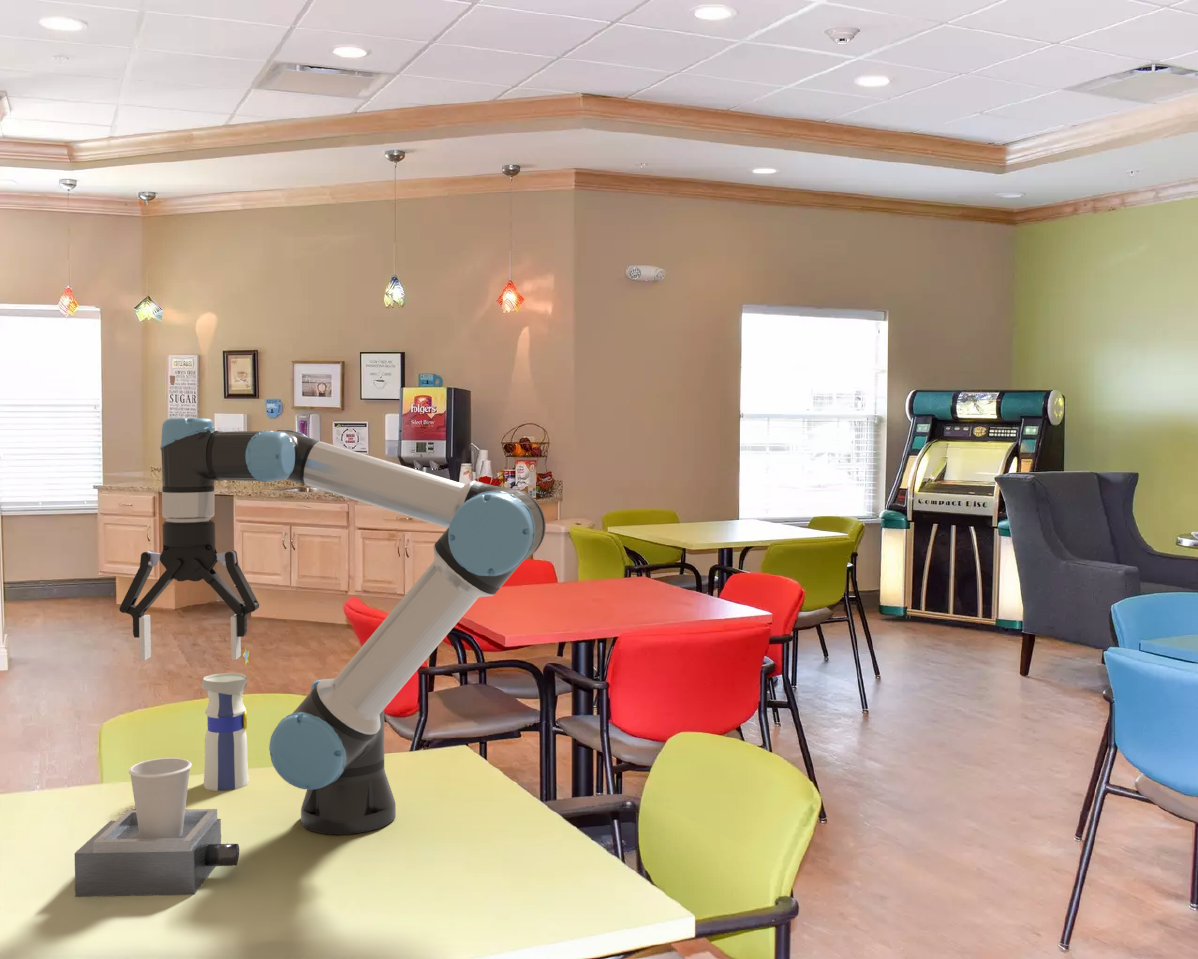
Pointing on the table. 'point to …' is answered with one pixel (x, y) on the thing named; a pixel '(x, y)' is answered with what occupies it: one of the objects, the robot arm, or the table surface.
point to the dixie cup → (160, 796)
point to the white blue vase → (226, 731)
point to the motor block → (152, 858)
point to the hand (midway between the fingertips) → (190, 658)
